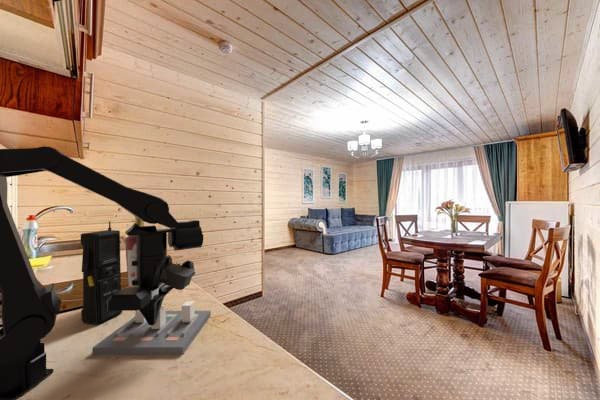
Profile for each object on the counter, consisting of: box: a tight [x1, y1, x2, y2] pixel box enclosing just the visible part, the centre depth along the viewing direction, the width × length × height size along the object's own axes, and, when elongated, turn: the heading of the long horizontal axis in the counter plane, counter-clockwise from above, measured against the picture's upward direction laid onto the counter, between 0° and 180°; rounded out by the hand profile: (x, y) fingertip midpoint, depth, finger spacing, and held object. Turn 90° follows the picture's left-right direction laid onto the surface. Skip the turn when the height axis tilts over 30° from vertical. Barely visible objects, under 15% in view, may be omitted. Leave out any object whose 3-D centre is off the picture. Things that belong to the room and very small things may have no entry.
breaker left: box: [134, 310, 146, 323], centre depth 60 cm, size 2×2×4 cm
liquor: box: [124, 216, 145, 288], centre depth 78 cm, size 7×7×28 cm
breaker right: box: [181, 300, 195, 322], centre depth 60 cm, size 2×2×4 cm
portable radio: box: [80, 220, 123, 325], centre depth 64 cm, size 8×6×25 cm
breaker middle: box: [151, 306, 167, 329], centre depth 57 cm, size 2×2×4 cm
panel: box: [91, 310, 212, 356], centre depth 57 cm, size 18×16×2 cm
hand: (152, 324), depth 54 cm, fingers closed
